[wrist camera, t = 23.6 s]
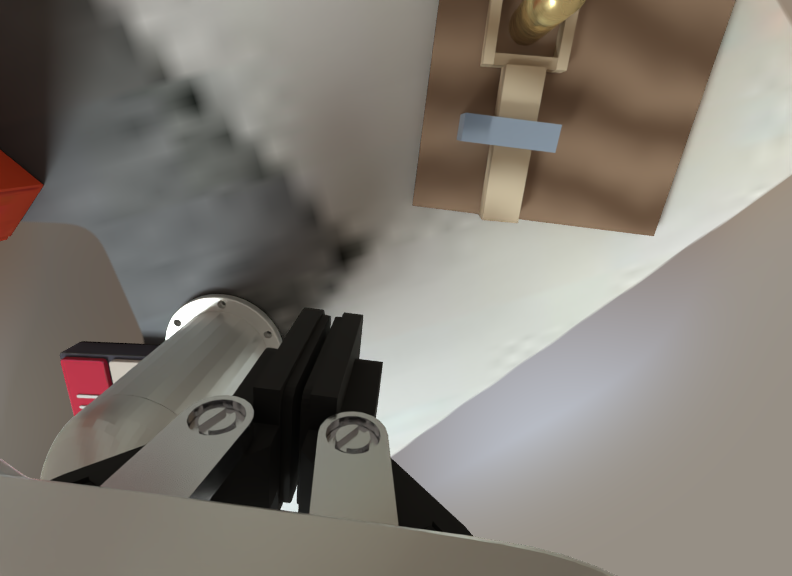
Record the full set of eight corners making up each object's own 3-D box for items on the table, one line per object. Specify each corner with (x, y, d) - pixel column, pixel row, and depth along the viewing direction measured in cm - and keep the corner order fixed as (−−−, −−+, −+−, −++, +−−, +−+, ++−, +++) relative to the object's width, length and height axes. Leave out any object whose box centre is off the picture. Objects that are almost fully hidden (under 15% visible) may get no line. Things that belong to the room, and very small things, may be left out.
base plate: (645, 232, 39) (653, 236, 38) (412, 202, 39) (412, 205, 38) (726, -7, 32) (740, -13, 31) (444, -42, 32) (445, -50, 31)
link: (493, -30, 31) (498, -42, 29) (579, -24, 31) (591, -34, 29) (460, 213, 37) (462, 218, 35) (531, 219, 37) (537, 224, 35)
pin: (505, 43, 33) (535, 13, 24) (512, 1, 32) (546, -45, 23) (540, 47, 33) (582, 19, 24) (549, 6, 32) (596, -39, 23)
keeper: (540, 150, 35) (555, 152, 32) (456, 139, 36) (461, 140, 32) (545, 125, 35) (562, 124, 31) (460, 114, 35) (465, 112, 31)
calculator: (155, 360, 43) (175, 478, 47) (177, 342, 47) (194, 452, 51) (51, 355, 43) (81, 473, 48) (83, 338, 47) (108, 448, 52)
